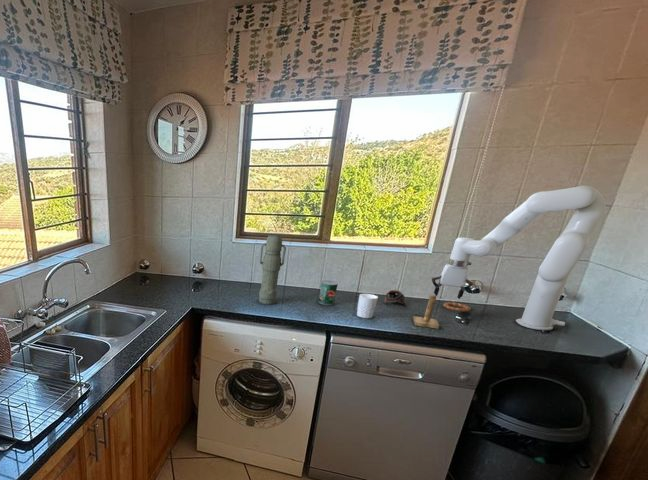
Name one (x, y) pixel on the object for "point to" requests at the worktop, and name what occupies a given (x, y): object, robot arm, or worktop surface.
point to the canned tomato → (327, 292)
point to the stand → (427, 316)
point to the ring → (466, 308)
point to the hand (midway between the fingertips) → (447, 296)
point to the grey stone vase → (271, 268)
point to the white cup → (366, 305)
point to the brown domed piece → (394, 297)
